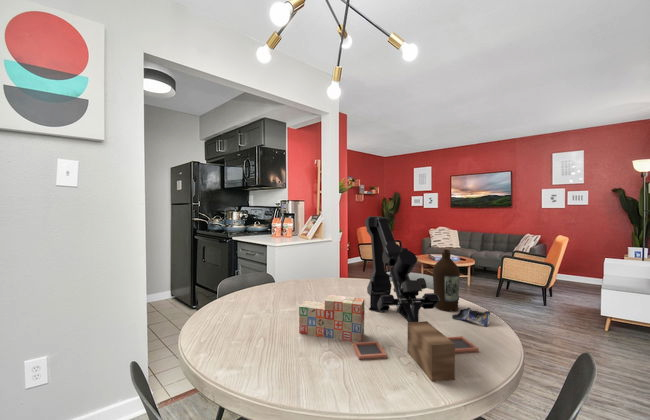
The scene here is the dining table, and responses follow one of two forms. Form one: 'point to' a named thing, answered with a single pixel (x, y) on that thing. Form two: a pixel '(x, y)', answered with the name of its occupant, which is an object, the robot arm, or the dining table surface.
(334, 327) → the stack of blocks
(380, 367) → the dining table surface
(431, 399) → the dining table surface
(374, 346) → the tile
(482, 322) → the snack package
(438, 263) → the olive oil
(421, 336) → the walnut brick
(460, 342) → the tile
